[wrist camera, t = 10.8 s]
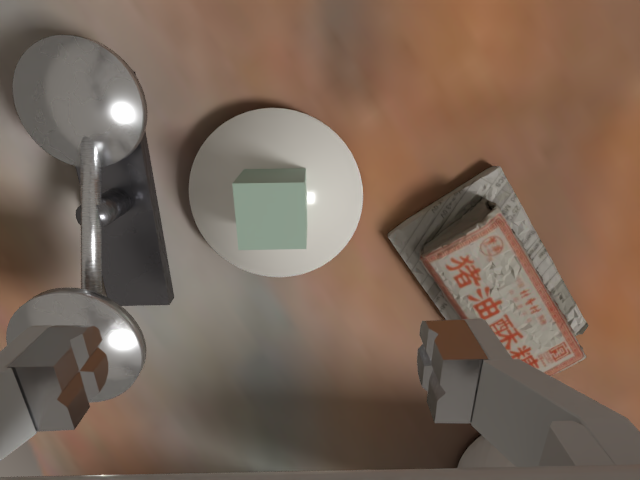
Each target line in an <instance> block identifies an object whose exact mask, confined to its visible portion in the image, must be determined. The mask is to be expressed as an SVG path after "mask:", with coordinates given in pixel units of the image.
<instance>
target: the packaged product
mask: <svg viewBox="0 0 640 480" xmlns="http://www.w3.org/2000/svg"><path fill="white" fill-rule="evenodd" d="M388 238H389V239H390V241H391V242H392V244H393V245H394V247H395V248H396V250H397V251H398V253H399V254H400V256H401V257H402V259H403V260H404V261H405V263H406V264H407V266H408V267H409V269H410V270H411V272H412V273H413V274H414V276H415V277H416V279H417V280H418V281H419V283H420V284H421V286H422V287H423V288H424V290H425V291H426V292H427V294H428V295H429V297H430V298H431V299H432V301H433V302H434V303H435V305H436V306H437V307H438V309H439V311H440V312H441V314H442V315H443V316H444V318H445V319H446V320H462V319H477V318H482V319H484V320H485V321H486V322H487V323H488V325H489V326H490V328H491V329H492V330H493V332H494V333H495V335H496V336H497V337H498V339H499V340H500V342H501V343H502V345H503V346H504V347H505V349H506V350H507V352H508V353H509V354H510V356H511V357H512V359H520V360H522V361H523V362H525V363H527V364H529V365H531V366H533V367H534V368H536V369H538V370H540V371H542V372H543V373H545V374H547V375H549V376H551V375H553V374H556V373H558V372H561V371H563V370H565V369H567V368H569V367H570V366H572V365H574V364H576V363H578V362H579V361H582V360H584V359H585V358H586V355H585V354H584V352H583V348H582V347H581V346H580V345H579V343H578V340H577V339H576V337H575V336H576V335H579V334H583V333H584V331H585V330H586V329H587V327H588V324H587V322H586V321H585V319H584V318H583V316H582V314H581V312H580V310H579V309H578V307H577V305H576V303H575V301H574V300H573V298H572V296H571V295H570V293H569V291H568V289H567V287H566V285H565V284H564V281H563V280H562V278H561V276H560V275H559V273H558V271H557V269H556V267H555V265H554V263H553V261H552V259H551V258H550V256H549V254H548V253H547V251H546V249H545V247H544V245H543V244H542V242H541V240H540V238H539V237H538V235H537V233H536V231H535V229H534V228H533V226H532V224H531V222H530V220H529V218H528V216H527V214H526V213H525V211H524V209H523V207H522V205H521V204H520V202H519V200H518V198H517V196H516V194H515V193H514V191H513V189H512V187H511V185H510V184H509V182H508V180H507V179H506V177H505V175H504V173H503V171H502V169H501V167H500V166H492V167H490V168H488V169H486V170H484V171H483V172H481V173H480V174H478V175H477V176H475V177H473V178H472V179H470V180H469V181H467V182H466V183H464V184H462V185H461V186H459V187H458V188H456V189H455V190H453V191H452V192H450V193H448V194H447V195H445V196H443V197H442V198H440V199H438V200H437V201H435V202H434V203H432V204H430V205H429V206H427V207H426V208H424V209H422V210H421V211H419V212H418V213H416V214H414V215H413V216H411V217H410V218H408V219H407V220H405V221H404V222H402V223H401V224H400V225H398V226H397V227H396V228H395V229H393V230H392V231H391V232H389V233H388Z"/></svg>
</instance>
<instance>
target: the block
mask: <svg viewBox="0 0 640 480" xmlns="http://www.w3.org/2000/svg"><path fill="white" fill-rule="evenodd" d="M232 187H233V197H234V208H235V218H236V228H237V239H238V249H239V250H278V249H306V247H307V190H306V168H282V169H244V170H243V171H242V172H241V173H240V175H239V176H238V177H237V178H236V180H235V181H234V182H233V183H232Z"/></svg>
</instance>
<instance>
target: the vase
mask: <svg viewBox="0 0 640 480" xmlns="http://www.w3.org/2000/svg"><path fill="white" fill-rule="evenodd" d="M483 467H515V466H514V465H513V464H512V463H511V462H510V461H509V460H508V459H507V458H506V457H505V456H504V455H503V454H501V453H500V452H499V451H498V450H497V449H496V448H495V447H494V446H493V445H492V444H491V443H490V442H489V441H488V440H486V439H485V438H484V437H483V436H482V435H481V436H480V437H478V438H477V439H476V440H475V441H474V442H473V443H472V444H471V445H470V446H469V447H468V448H467V449H466V451H465V452H464V454H463V455H462V457H461V459H460V461H459V464H458V467H457V468H483Z"/></svg>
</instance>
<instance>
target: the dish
mask: <svg viewBox="0 0 640 480" xmlns="http://www.w3.org/2000/svg"><path fill="white" fill-rule="evenodd" d="M282 168H306V190H307V247H306V249H278V250H239V249H238V239H237V228H236V218H235V208H234V197H233V187H232V183H233V182H234V181H235V180H236V178H237V177H238V176H239V175H240V173H241V172H242V171H243V170H244V169H282ZM189 202H190V206H191V211H192V214H193V217H194V220H195V223H196V225H197V227H198V229H199V231H200V233H201V234H202V235H203V237H204V238H205V240H206V241H207V243H208V244H209V245H210V246H211V247H212V248H213V250H215V251H216V252H217V253H218V254H219V255H220V256H221V257H222V258H224V259H225V260H227V261H228V262H230V263H231V264H233V265H235V266H237V267H238V268H240V269H243V270H245V271H248V272H250V273H254V274H258V275H262V276H269V277H289V276H295V275H300V274H304V273H307V272H310V271H313V270H315V269H317V268H319V267H321V266H323V265H324V264H326V263H327V262H329V261H330V260H332V259H333V258H334V257H335V256H336V255H338V254H339V253H340V251H341V250H342V249H343V248H344V247H345V246H346V244H347V243H348V242H349V240H350V239H351V237H352V235H353V234H354V232H355V230H356V227H357V225H358V222H359V219H360V215H361V211H362V204H363V186H362V181H361V175H360V172H359V169H358V166H357V164H356V161H355V159H354V157H353V155H352V153H351V152H350V150H349V149H348V147H347V145H346V144H345V143H344V141H343V140H342V139H341V138H340V137H339V136H338V135H337V134H336V133H335V132H334V131H333V130H332V129H331V128H330V127H329V126H327V125H326V124H324V123H323V122H321V121H320V120H318V119H316V118H314V117H312V116H310V115H308V114H305V113H302V112H299V111H296V110H291V109H286V108H261V109H256V110H252V111H248V112H245V113H243V114H240V115H237V116H235V117H233V118H232V119H230V120H228V121H226V122H225V123H223V124H222V125H221V126H219V127H218V128H217V129H216V130H215V131H214V132H213V133H212V134H211V135H210V136H209V137H208V138H207V139H206V140H205V142H204V143H203V145H202V146H201V147H200V149H199V151H198V153H197V155H196V157H195V160H194V162H193V165H192V168H191V173H190V178H189Z"/></svg>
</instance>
